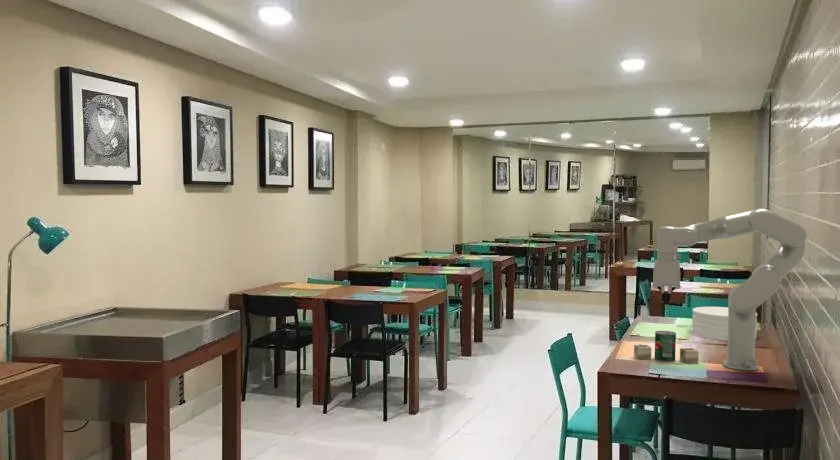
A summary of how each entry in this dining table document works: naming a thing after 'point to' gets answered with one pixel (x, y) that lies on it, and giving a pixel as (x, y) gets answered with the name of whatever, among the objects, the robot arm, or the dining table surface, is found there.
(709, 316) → the plate stack
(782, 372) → the dining table surface
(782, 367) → the dining table surface
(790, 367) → the dining table surface
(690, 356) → the marked block one
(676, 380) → the dining table surface
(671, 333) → the canned tomato
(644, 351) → the marked block two
